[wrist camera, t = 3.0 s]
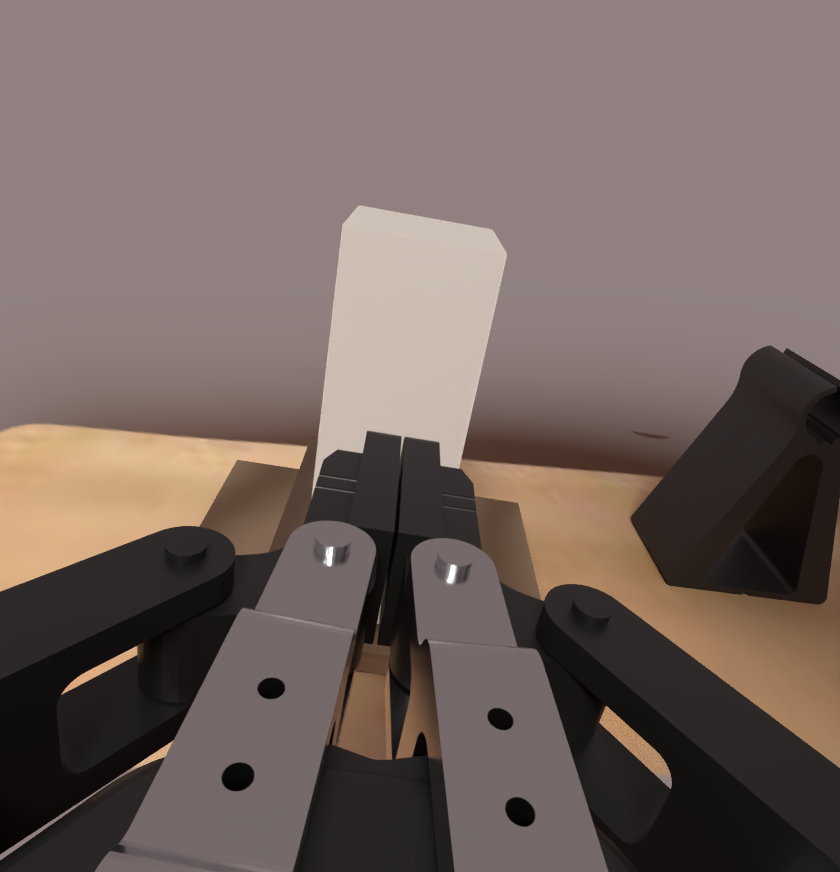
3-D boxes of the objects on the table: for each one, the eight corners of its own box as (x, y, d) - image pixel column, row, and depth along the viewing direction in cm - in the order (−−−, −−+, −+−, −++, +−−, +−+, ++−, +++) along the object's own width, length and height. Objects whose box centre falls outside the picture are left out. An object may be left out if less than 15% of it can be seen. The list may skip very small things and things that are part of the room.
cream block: (423, 555, 30) (492, 229, 24) (422, 630, 26) (507, 254, 19) (317, 539, 30) (358, 205, 24) (298, 613, 26) (342, 224, 19)
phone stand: (664, 584, 34) (753, 373, 29) (629, 521, 39) (699, 333, 34) (823, 606, 35) (938, 403, 30) (768, 540, 40) (856, 359, 35)
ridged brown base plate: (513, 517, 37) (526, 472, 36) (553, 697, 26) (573, 640, 24) (236, 475, 36) (238, 427, 35) (145, 642, 25) (144, 580, 23)
